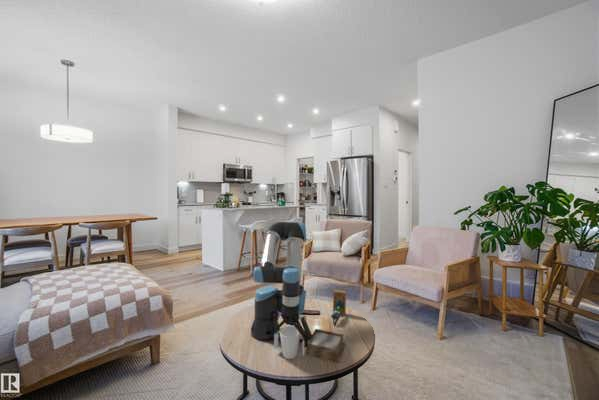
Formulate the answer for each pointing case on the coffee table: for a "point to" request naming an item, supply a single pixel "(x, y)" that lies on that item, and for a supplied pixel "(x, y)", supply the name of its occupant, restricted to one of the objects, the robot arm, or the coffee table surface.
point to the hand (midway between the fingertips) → (289, 350)
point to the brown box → (326, 345)
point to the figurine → (338, 304)
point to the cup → (289, 341)
